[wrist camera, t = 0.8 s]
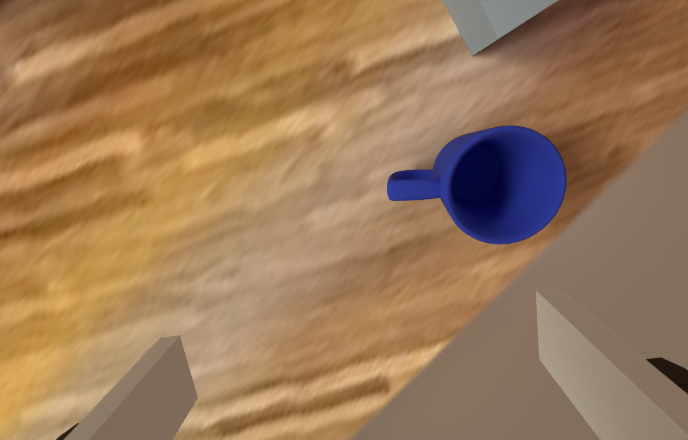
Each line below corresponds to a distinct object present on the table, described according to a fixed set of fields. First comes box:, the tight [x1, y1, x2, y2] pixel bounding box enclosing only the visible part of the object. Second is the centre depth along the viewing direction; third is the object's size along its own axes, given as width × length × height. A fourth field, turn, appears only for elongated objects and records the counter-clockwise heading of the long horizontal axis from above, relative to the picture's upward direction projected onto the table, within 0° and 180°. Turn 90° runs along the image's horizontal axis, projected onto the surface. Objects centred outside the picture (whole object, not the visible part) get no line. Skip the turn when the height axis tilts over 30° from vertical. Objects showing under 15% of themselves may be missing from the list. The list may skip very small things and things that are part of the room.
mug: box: [387, 126, 567, 244], centre depth 32 cm, size 8×12×10 cm
